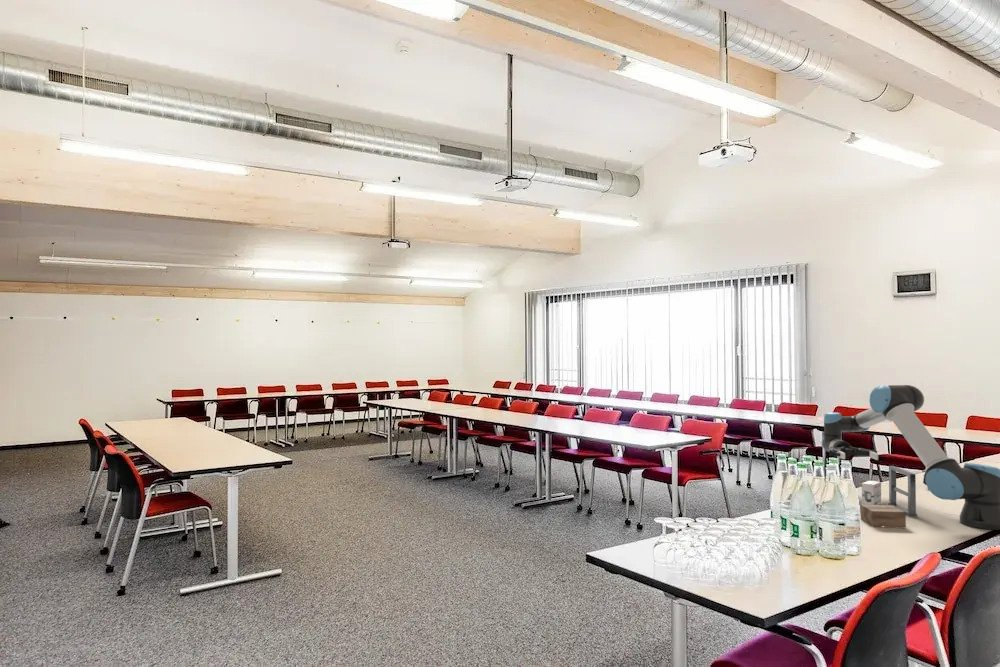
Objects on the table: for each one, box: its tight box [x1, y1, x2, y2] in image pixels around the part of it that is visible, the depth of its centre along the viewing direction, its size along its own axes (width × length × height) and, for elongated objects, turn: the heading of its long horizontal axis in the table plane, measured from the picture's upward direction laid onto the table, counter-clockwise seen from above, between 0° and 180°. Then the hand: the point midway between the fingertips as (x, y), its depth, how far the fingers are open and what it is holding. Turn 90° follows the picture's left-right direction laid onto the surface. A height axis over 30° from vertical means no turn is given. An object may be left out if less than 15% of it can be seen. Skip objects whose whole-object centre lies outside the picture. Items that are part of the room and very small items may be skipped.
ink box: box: [861, 480, 882, 505], centre depth 268 cm, size 9×5×12 cm, turn 131°
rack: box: [887, 465, 918, 517], centre depth 267 cm, size 18×3×17 cm, turn 173°
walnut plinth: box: [860, 504, 907, 528], centre depth 248 cm, size 10×12×6 cm
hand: (860, 456), depth 278 cm, fingers open, 13 cm apart
